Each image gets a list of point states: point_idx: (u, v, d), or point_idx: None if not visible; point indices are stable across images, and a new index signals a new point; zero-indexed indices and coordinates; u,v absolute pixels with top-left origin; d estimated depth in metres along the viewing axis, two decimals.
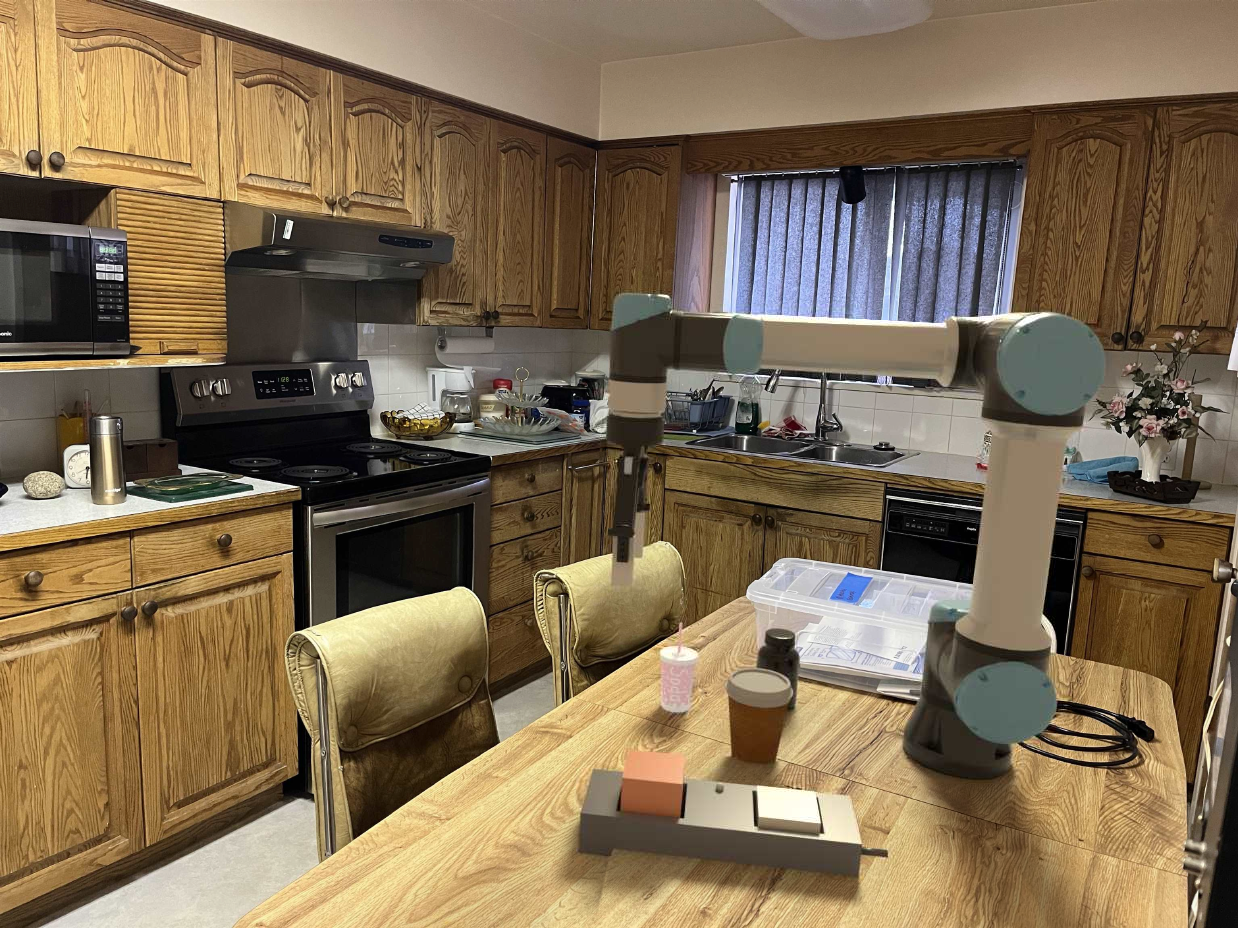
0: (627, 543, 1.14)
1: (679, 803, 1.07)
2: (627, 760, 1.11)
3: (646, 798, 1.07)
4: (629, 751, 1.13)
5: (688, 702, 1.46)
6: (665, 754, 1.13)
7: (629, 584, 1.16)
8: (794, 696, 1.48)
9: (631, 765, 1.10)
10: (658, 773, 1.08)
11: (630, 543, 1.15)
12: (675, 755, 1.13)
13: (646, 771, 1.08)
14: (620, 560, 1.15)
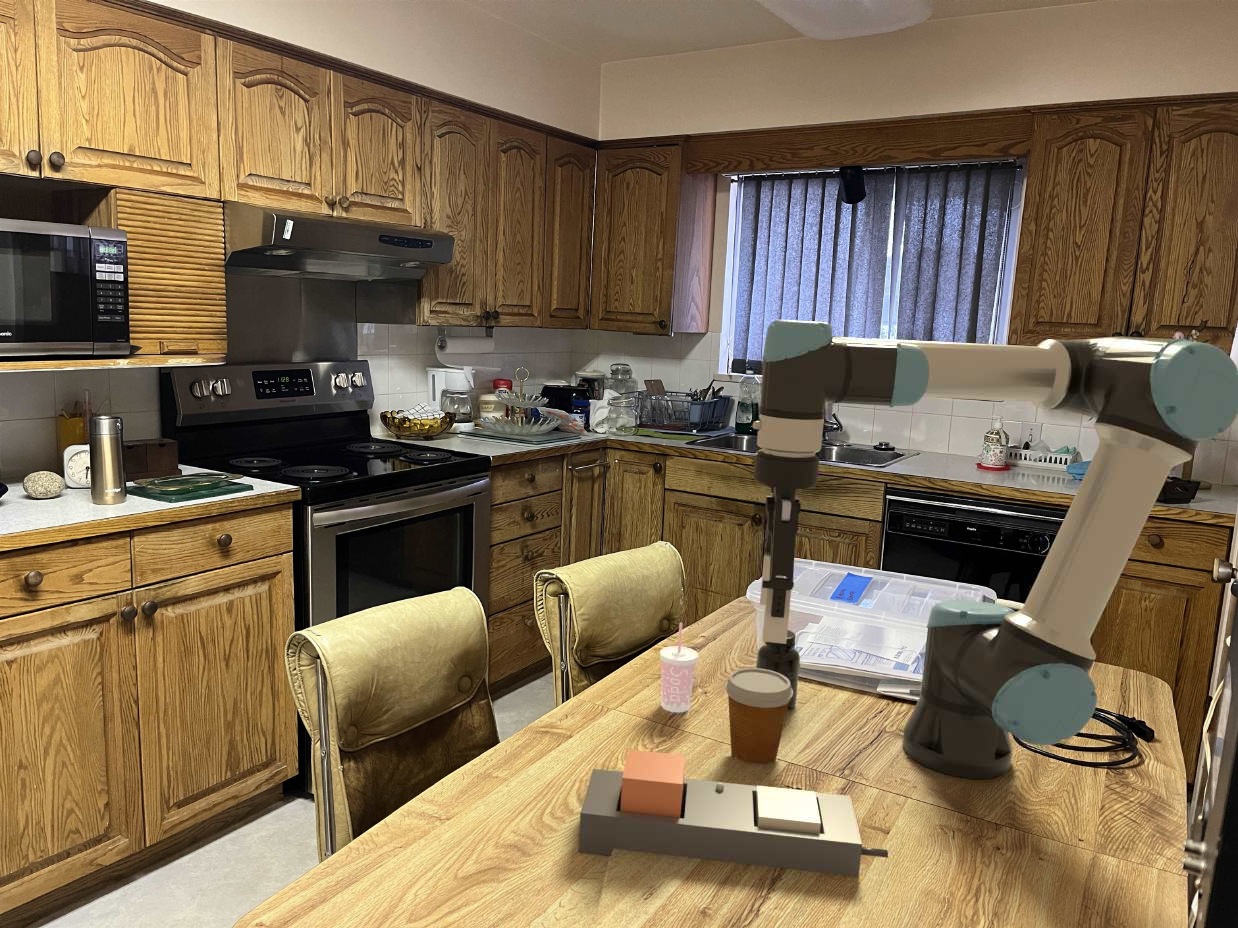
0: (784, 596, 1.04)
1: (679, 803, 1.07)
2: (627, 760, 1.11)
3: (646, 798, 1.07)
4: (629, 751, 1.13)
5: (688, 702, 1.46)
6: (665, 754, 1.13)
7: (782, 641, 1.06)
8: (794, 696, 1.48)
9: (631, 765, 1.10)
10: (658, 773, 1.08)
11: (786, 595, 1.05)
12: (675, 755, 1.13)
13: (646, 771, 1.08)
14: (775, 615, 1.04)
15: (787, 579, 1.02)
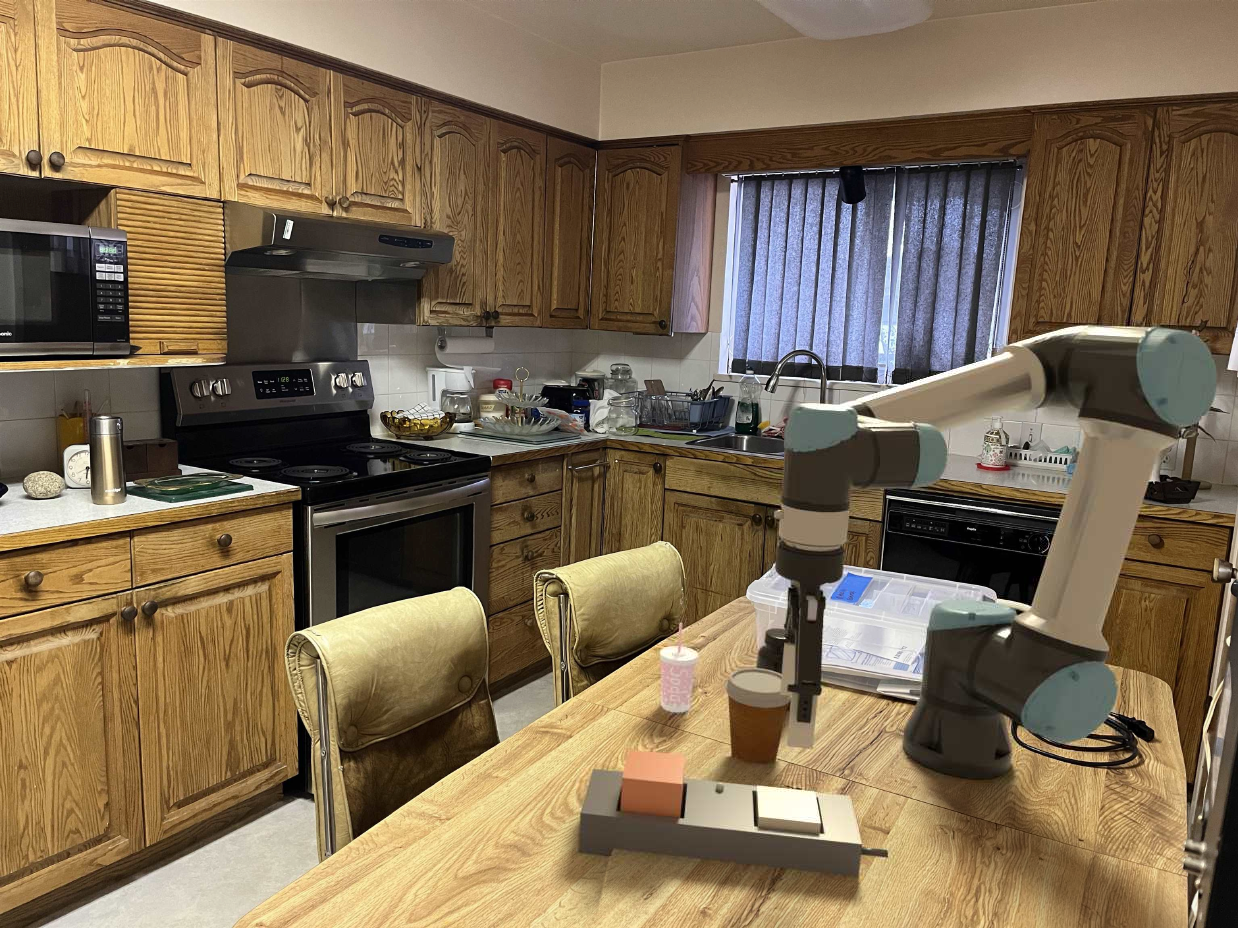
0: (811, 701, 0.98)
1: (679, 803, 1.07)
2: (627, 760, 1.11)
3: (646, 798, 1.07)
4: (629, 751, 1.13)
5: (688, 702, 1.46)
6: (665, 754, 1.13)
7: (809, 746, 1.00)
8: None
9: (631, 765, 1.10)
10: (658, 773, 1.08)
11: (812, 699, 0.99)
12: (675, 755, 1.13)
13: (646, 771, 1.08)
14: (802, 720, 0.98)
15: (814, 684, 0.96)
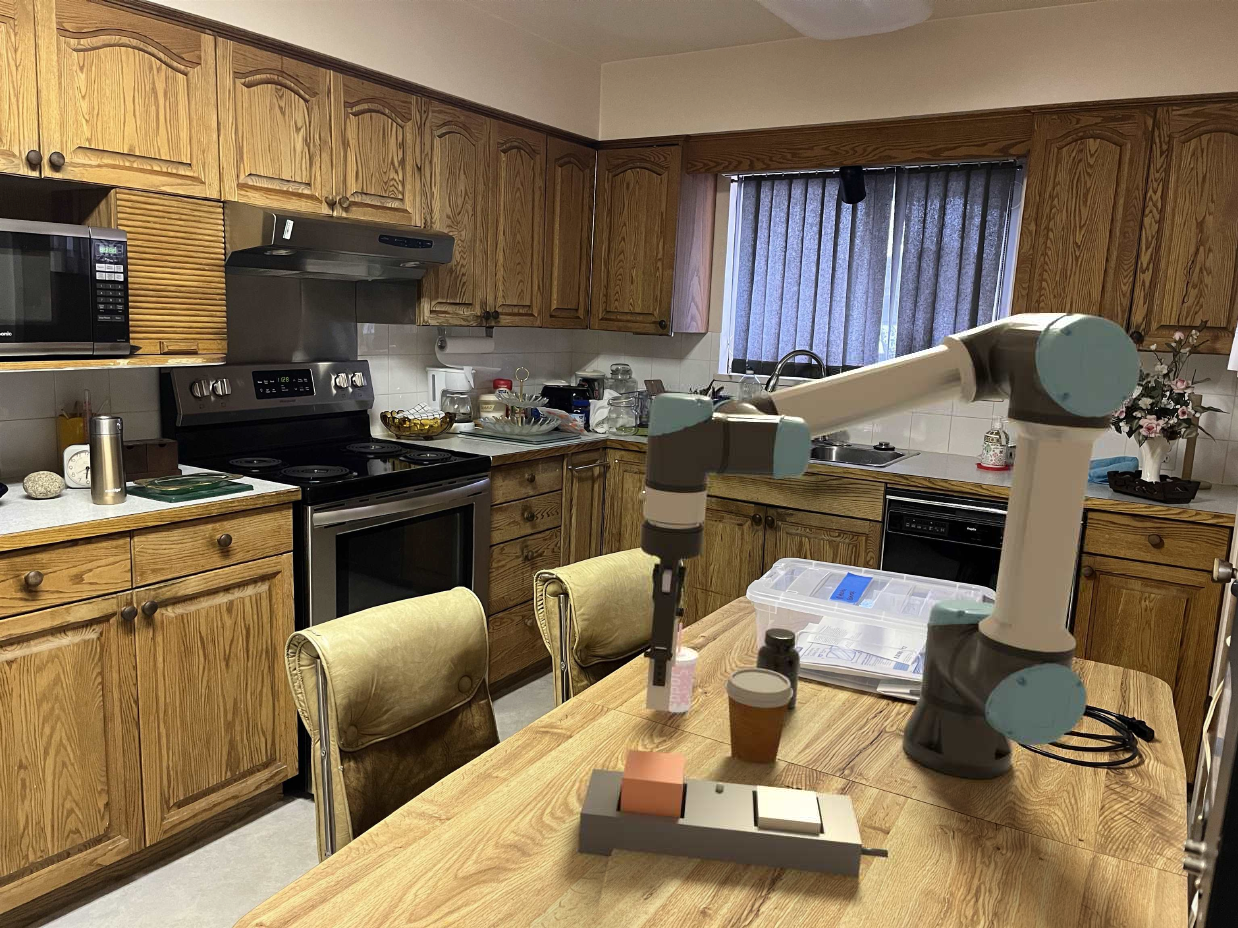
0: (664, 666, 1.06)
1: (679, 803, 1.07)
2: (627, 760, 1.11)
3: (646, 798, 1.07)
4: (629, 751, 1.13)
5: (688, 702, 1.46)
6: (665, 754, 1.13)
7: (665, 708, 1.08)
8: (794, 696, 1.48)
9: (631, 765, 1.10)
10: (658, 773, 1.08)
11: (668, 664, 1.07)
12: (675, 755, 1.13)
13: (646, 771, 1.08)
14: (657, 684, 1.07)
15: (666, 650, 1.05)
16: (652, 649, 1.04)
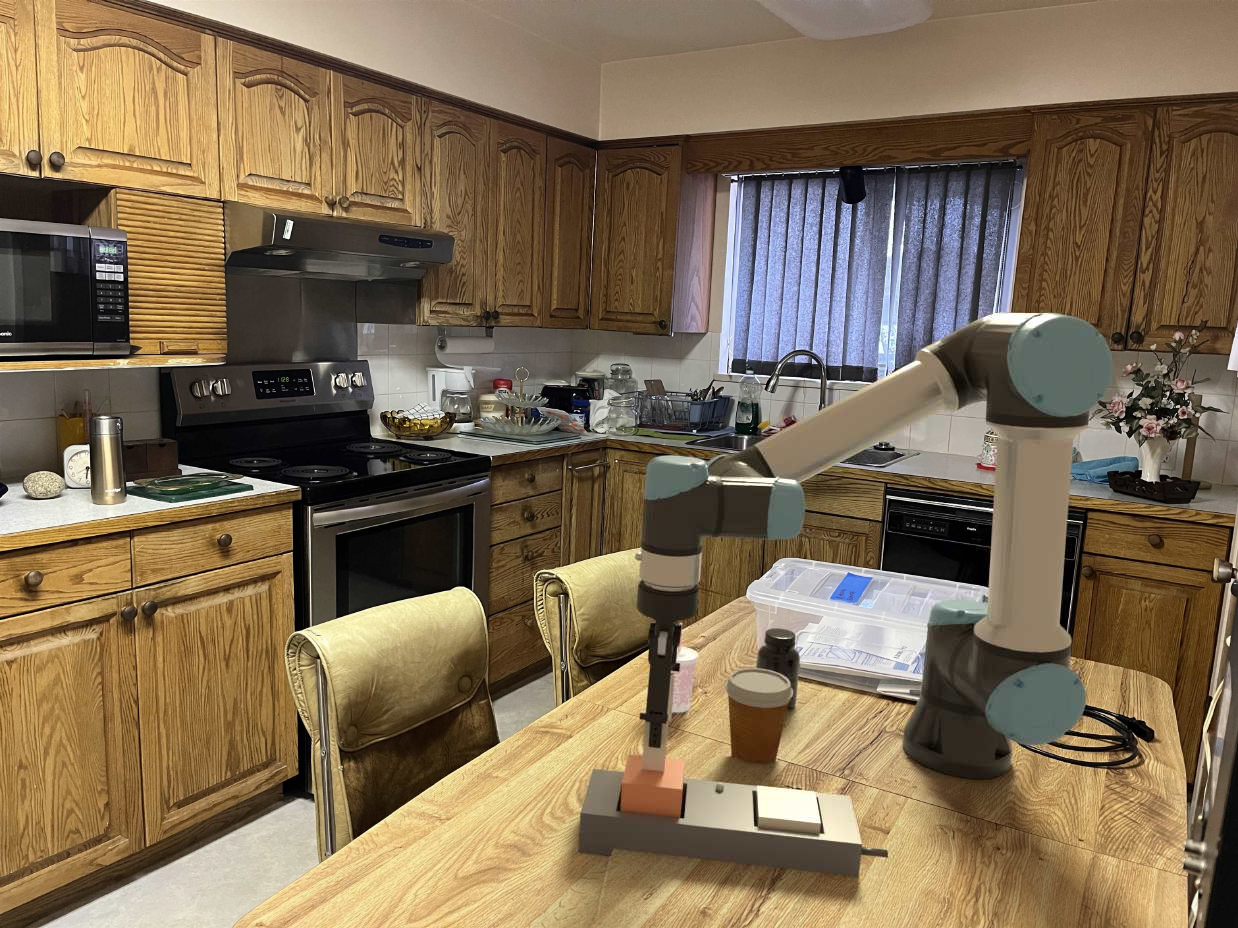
0: (660, 728, 1.08)
1: (679, 808, 1.07)
2: (627, 765, 1.11)
3: (646, 803, 1.07)
4: (629, 756, 1.13)
5: (688, 702, 1.46)
6: (665, 759, 1.13)
7: (661, 768, 1.10)
8: (794, 696, 1.48)
9: (630, 770, 1.10)
10: (658, 778, 1.08)
11: (663, 726, 1.09)
12: (675, 760, 1.13)
13: (646, 777, 1.09)
14: (652, 745, 1.08)
15: (661, 714, 1.06)
16: (648, 712, 1.06)
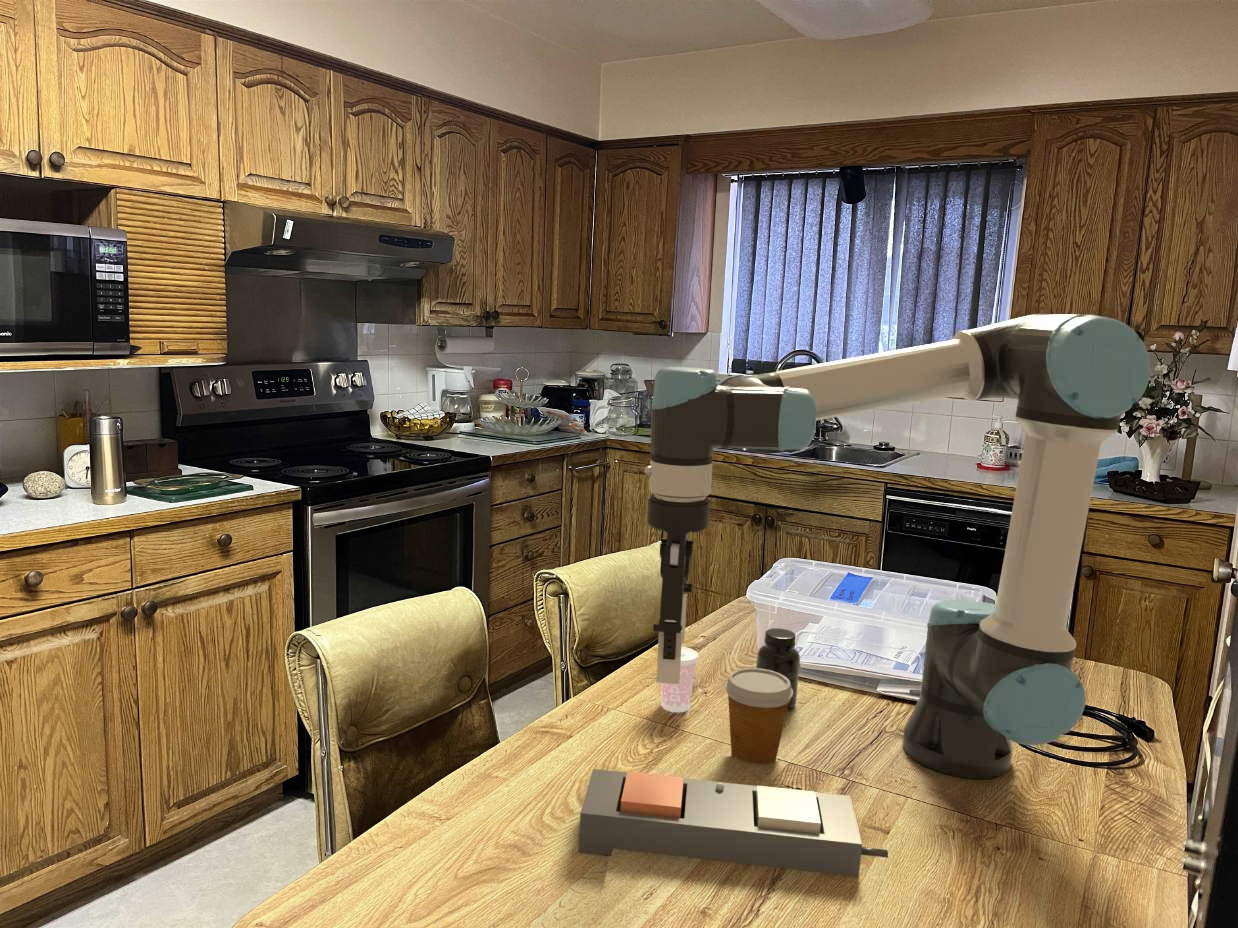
0: (674, 639, 1.06)
1: None
2: (626, 782, 1.11)
3: None
4: (628, 773, 1.14)
5: (688, 702, 1.46)
6: (664, 776, 1.13)
7: (676, 681, 1.08)
8: (794, 696, 1.48)
9: (629, 788, 1.10)
10: (656, 796, 1.09)
11: (677, 638, 1.07)
12: (673, 777, 1.13)
13: (645, 794, 1.09)
14: (667, 657, 1.07)
15: (675, 623, 1.05)
16: (661, 622, 1.04)
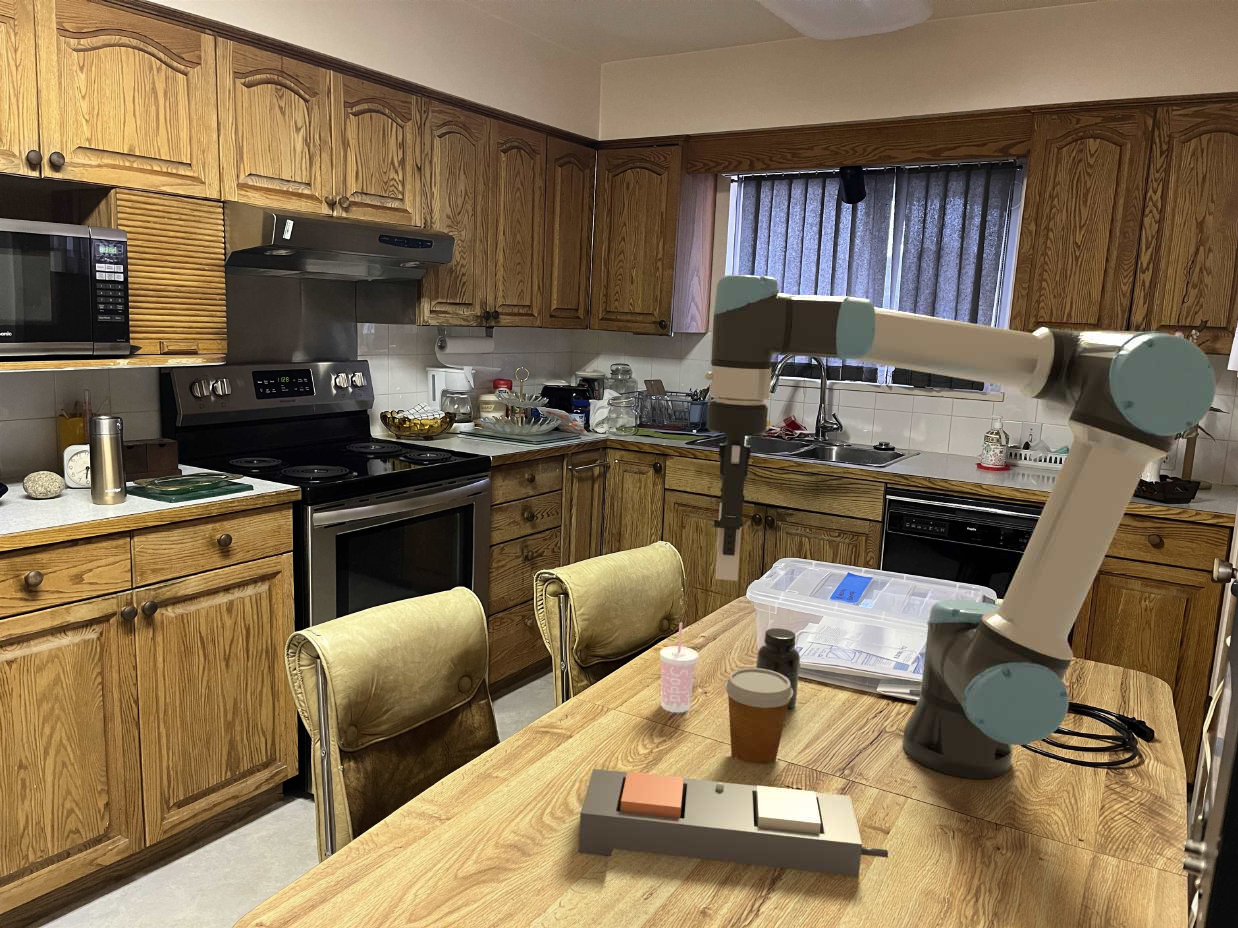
0: (734, 535, 1.10)
1: None
2: (626, 782, 1.11)
3: None
4: (628, 773, 1.14)
5: (688, 702, 1.46)
6: (664, 776, 1.13)
7: (734, 578, 1.12)
8: (794, 696, 1.48)
9: (629, 788, 1.10)
10: (656, 796, 1.09)
11: (737, 535, 1.11)
12: (673, 777, 1.13)
13: (645, 794, 1.09)
14: (726, 553, 1.10)
15: (736, 518, 1.08)
16: (723, 516, 1.08)
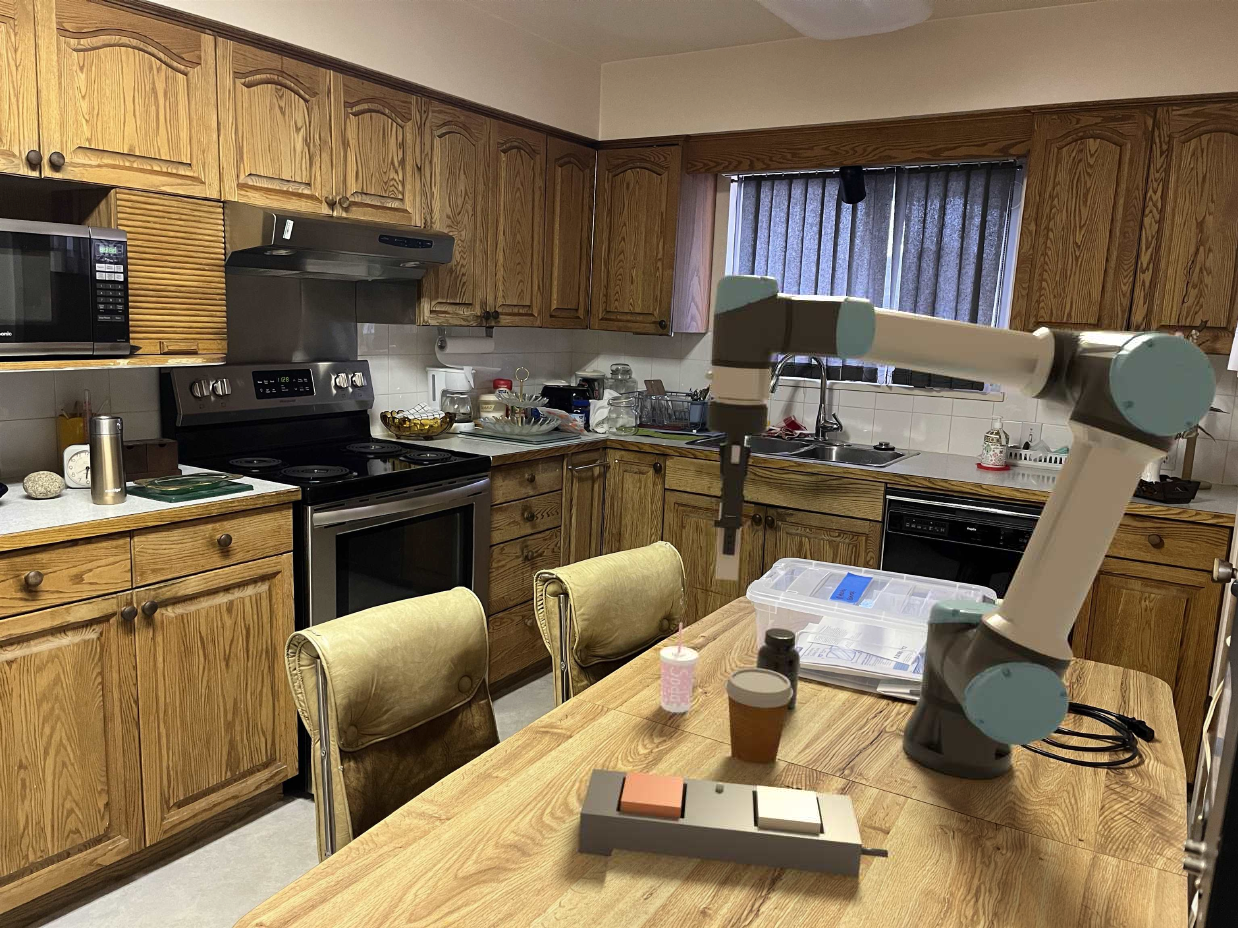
0: (734, 535, 1.10)
1: None
2: (626, 782, 1.11)
3: None
4: (628, 773, 1.14)
5: (688, 702, 1.46)
6: (664, 776, 1.13)
7: (734, 578, 1.12)
8: (794, 696, 1.48)
9: (629, 788, 1.10)
10: (656, 796, 1.09)
11: (737, 534, 1.11)
12: (673, 777, 1.13)
13: (645, 794, 1.09)
14: (726, 552, 1.10)
15: (736, 517, 1.08)
16: (723, 516, 1.08)
